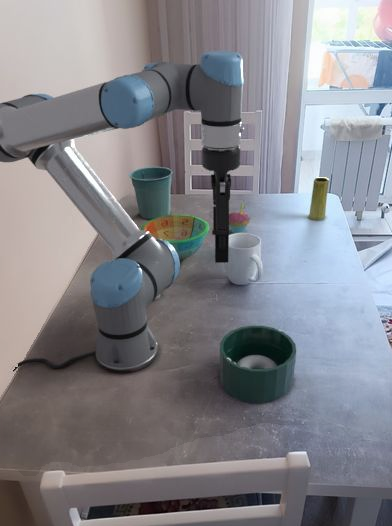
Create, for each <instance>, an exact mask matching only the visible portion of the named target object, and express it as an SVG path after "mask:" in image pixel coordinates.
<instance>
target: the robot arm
mask: <svg viewBox="0 0 392 526" xmlns="http://www.w3.org/2000/svg"><path fill="white" fill-rule="evenodd" d="M243 62H244V61H243V57H242V55H241V54H240V53H238V52H236V51H231V50H222V51H221V50H220V51H219V50H214V51H207V52H204V53H202V54H201V56H200V60H199V63H197V64H196V63H195V64H191V63H190V64H189V63H174V62H167V61H160V62H149V63H147V64H146V65H144V66H143V67H144V68H143V69H142V70H141V71H139V72H135V73H131V74H124V75H121V76H117V77H115V78H113V79H111V80H109V81H104V82H102V83H98V84H95V85H91V86H88V87H85V88H82V89H79V90H75V91H71V92H68V93H64V94H62V95H59V96H55V97H54V96H52V95H49V94H46V93H30V94H26V95H24V96H22V97H19V98H16V99H12V100H8V101H4V102H0V163H15V162H17V161H21V160H24V159H26V158H27V159H28V160H29V161H30V162H31V163H32V165H33V166H34V167H35V169H38V170H42V171H46V172H47V173H48V175H50V177H51V178H52V179H53V180H54V182H55V183H56V184H57V185H58V187H59V188H60V189H61V190H62V192H64V194H65V195H66V196H67V198H68V199H69V200H70V201H71V202H72V204H73V205H74V206H75V207H76V209H77V210H78V211H79V212H80V214H81V215H82V217H83V218H84V219H85V220H86V221H87V222H88V223H89V225H90V226H91V227H92V228H93V230H94V231H95V232H96V233H97V234H98V236H99V238H101V240H102V241H103V242H104V243H105V245H106V246H107V247H108V248H109V249H110V251H111V252H112V260H111V261H109V260H106V261H105V262H103V263H101V264H100V265H99V266H97V267H96V268H95V269H94V270H93V271H92V273H91V275H90V280H89V283H90V296H91V298H92V299H91V300H92V303H93V309H94V313H95V319H96V323H97V327H98V335H97V341H96V345H95V351H91V352H88V353H85V354H81V355H77V356H74V357H71V358H70V359H68V360H66V361H65V362H63V363H60V364H53V363H52V362H50V361H49V360H48V359H46V358H41V357H40V358H39V357H38V358H37V357H36V358H27V359H24V360H22V361H19V362H18V363H17V364H18V367H15V369H14V370H13V372H12V373H14V372H15V371H17V370H18V368H20V367H22V366H23V365H26V364H30V363H31V364H32V363H44V364H45V365H47V366H48V367H49V368H51V369H54V370H55V369H57V370H58V369H63V368H65V367H67V366H69V365H70V364H72V363H74V362H76V361H79V360H83V359H86V358H90V357H94V356H95V358H96V362H97V364H98V365H99V366H100V367H101V368H102V369H104V370H106V371H107V372H111V373H115V374H130V373H134V372H135V373H136V372H138V371H141V370H143V369H145V368H147V367H148V366H150V365H152V363H154V362H155V360H156V359H157V357H158V353H159V348H158V342H157V340H156V337H155V336H154V334H153V333H152V331H151V328H150V327H149V324H148V317H147V307H148V306H149V305H150V304H151V303H152V302H153V301H155V300H154V299H155V298H156V297H157V296H159V295H161V294H162V293H163V292H164V291H165V290H166V289H168V288H169V287H171V286H172V284H173V282H175V280H176V279H177V277H178V276H179V273H180V266H181V263H180V260H179V257H178V254H177V252H176V250H175V249H174V248H173V246H172V245H171V244H170V243H168V242H167V241H165V240H164V241H163V240H162V239H155V238H154V237H153V236H152V235H151V233H150V232H149V231H143V230H141V228H139V227H138V226H137V224H136V223H135V222H134V221H133V219H132V218H131V217H130V215H129V214H128V212H126V210H125V209H124V208H123V207H122V205H121V204H120V202H118V199H116V197H115V196H114V195H113V194H112V193H111V192H110V190H109V189H108V187H107V186H106V185H105V184H104V182H103V181H102V180H101V178H100V177H99V176H98V175H97V173H96V172H95V171H94V169H93V168H92V167H91V166H90V164H88V162H87V161H86V160H85V158H84V157H83V155H82V154H81V153H80V151H78V150H77V148H76V145H75V144H76V140H77V139H80V138H85V137H88V136H93V135H97V134H102V133H105V132H109V131H114V130H118V129H121V130H122V129H123V130H127V129H133V128H136V127H139V126H142V125H144V124H145V123H147V122H149V121H151V120H153V119H156V118H159V117H161V116H164V115H166V114H168V113H171V112H173V111H175V110H184V111H185V110H186V111H193V112H194V111H195V112H196V111H197V112H200V116H201V117H200V118H201V120H200V121H201V122H200V129H201V130H200V132H201V133H200V135H201V137H200V138H201V140H200V141H201V143H200V144H201V145H202V146H203V147H202V148H201V165H202V168H204V169H205V170H207V171H209V172H213V174H210V184H211V190H212V204H213V206H212V210H213V211H212V212H213V213H212V215H213V216H212V217H213V218H212V219H213V221H212V222H213V223H212V227H213V228H212V229H213V230H212V232H211V233H212V235H213V236H214V238H215V239H214V263H215V264H220V263H221V264H224V263H228V252H229V235H230V233H231V232H230V225H229V214H230V200H231V188H232V178H231V173H229V172H231V171H236V170H237V169H238V168H240V166H241V155H242V154H241V152H242V151H241V150H242V149H241V147H240V146H239V145H240V144H241V141H242V140H241V139H242V135H241V133H244V132H245V126H242V113H243V110H242V109H243V89H244V71H243V70H244V67H243V64H244V63H243Z"/></svg>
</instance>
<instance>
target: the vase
mask: <svg viewBox="0 0 392 526" xmlns="http://www.w3.org/2000/svg"><path fill="white" fill-rule="evenodd" d="M329 182H330V180H329V178H327V177H315V178H314V179H313V186H312V192H311V199H310V206H309V207H310V208H309V214H308V218H309V219H310V220H313V221H322V220H325V218H326V212H327V211H326V210H327V209H326V208H327V199H328V189H329Z"/></svg>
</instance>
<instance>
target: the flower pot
mask: <svg viewBox="0 0 392 526" xmlns="http://www.w3.org/2000/svg"><path fill="white" fill-rule="evenodd" d="M172 175H173V170H172V169H171V168H168V167H163V166H162V167H161V166H147V167H141V168H138V169H135V170H133V171H131V172H130V173H129V178H130V179H131V183H132V184H131V185H132V187H133V189H134V194H135V198H136V203H137V208H138V213H139V216H140V217H142V218H143V219H145V220H152V219H155V218H158V217H162V216H168V215H171V184H172Z"/></svg>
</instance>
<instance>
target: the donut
mask: <svg viewBox="0 0 392 526" xmlns="http://www.w3.org/2000/svg"><path fill="white" fill-rule="evenodd" d="M237 364H238V365H240V366H243V367H247V368H251V369H267V368H273V367H277V365H276V364H275V362H274V361H272V360H271V359H270V358H267V357H265V356H261V355H250V356H246V357H244V358H242V359H241V360H240V361H239V362H238V363H237Z"/></svg>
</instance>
